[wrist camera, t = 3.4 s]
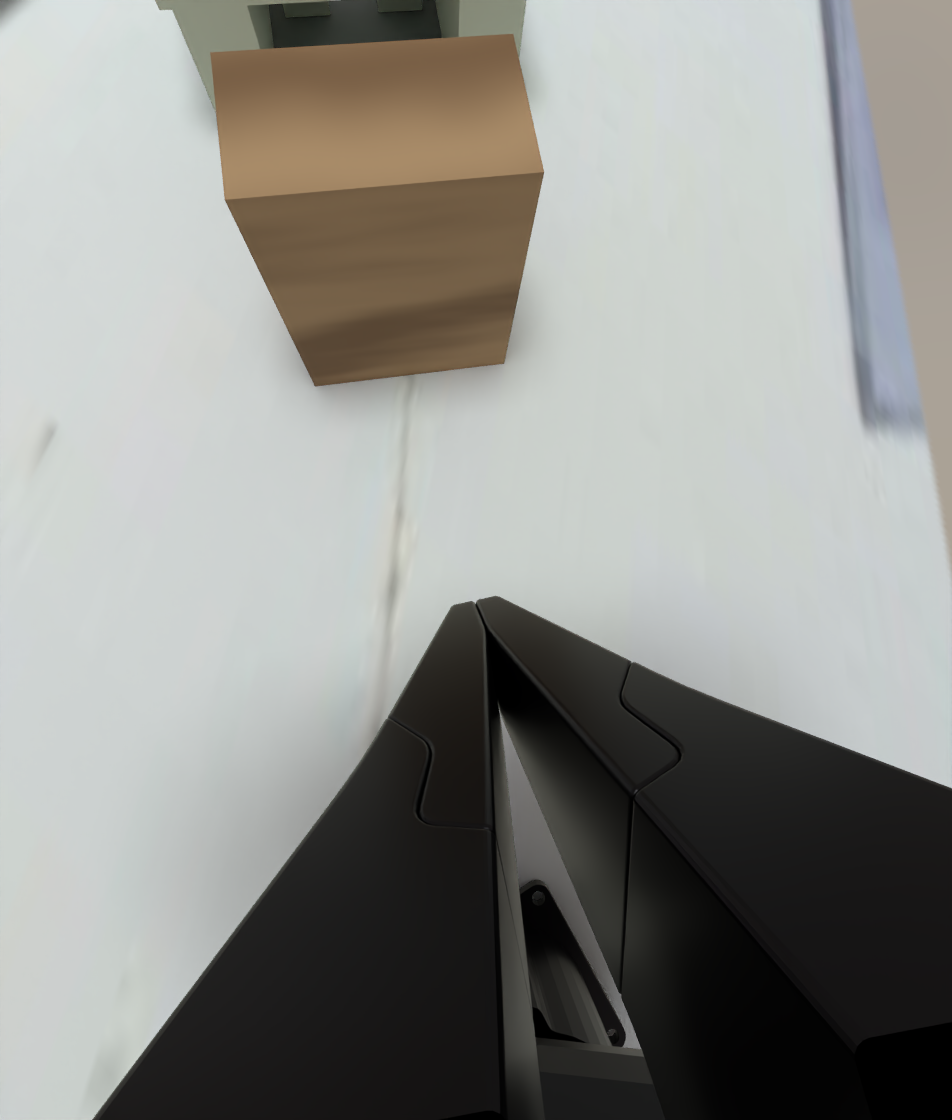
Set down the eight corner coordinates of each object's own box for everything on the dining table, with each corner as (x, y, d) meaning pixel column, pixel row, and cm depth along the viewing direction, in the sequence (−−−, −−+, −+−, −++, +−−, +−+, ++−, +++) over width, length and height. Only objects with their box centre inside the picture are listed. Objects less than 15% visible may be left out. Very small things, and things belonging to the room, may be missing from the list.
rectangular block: (503, 363, 25) (543, 172, 15) (315, 386, 24) (224, 199, 14) (460, 138, 27) (470, -160, 17) (285, 152, 26) (190, -153, 16)
